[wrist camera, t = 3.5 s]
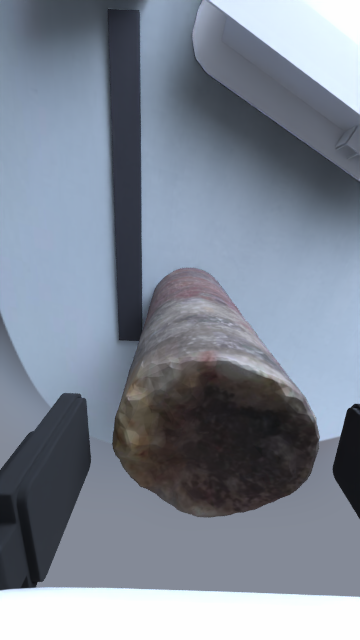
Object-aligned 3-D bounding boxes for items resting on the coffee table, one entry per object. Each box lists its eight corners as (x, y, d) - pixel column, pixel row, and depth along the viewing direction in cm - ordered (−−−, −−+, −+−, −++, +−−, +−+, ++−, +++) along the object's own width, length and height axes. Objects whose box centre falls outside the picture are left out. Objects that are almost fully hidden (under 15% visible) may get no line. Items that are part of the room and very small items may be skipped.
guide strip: (119, 339, 29) (118, 340, 29) (108, 11, 21) (107, 8, 21) (142, 339, 29) (141, 341, 29) (139, 13, 21) (139, 10, 21)
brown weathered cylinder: (234, 326, 29) (342, 508, 10) (168, 348, 30) (148, 558, 10) (211, 256, 27) (291, 311, 8) (141, 282, 27) (53, 392, 8)
